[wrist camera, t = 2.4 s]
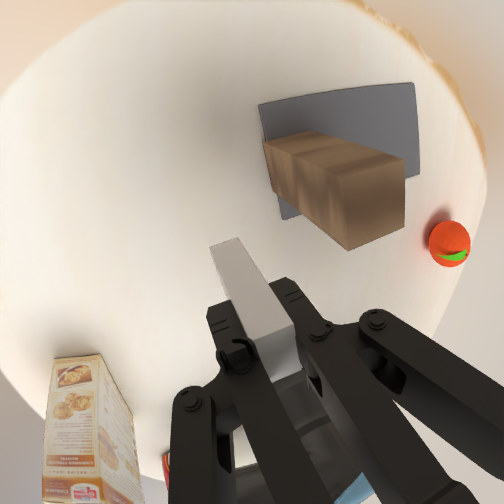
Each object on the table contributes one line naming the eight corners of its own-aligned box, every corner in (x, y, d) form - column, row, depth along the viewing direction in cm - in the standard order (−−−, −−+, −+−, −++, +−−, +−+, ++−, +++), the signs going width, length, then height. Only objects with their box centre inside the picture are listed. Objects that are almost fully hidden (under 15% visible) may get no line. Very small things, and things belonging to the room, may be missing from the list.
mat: (417, 173, 36) (419, 174, 35) (282, 219, 32) (283, 220, 32) (411, 82, 29) (414, 83, 29) (258, 105, 26) (259, 105, 26)
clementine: (411, 260, 43) (443, 284, 37) (418, 219, 39) (454, 241, 33) (443, 248, 45) (473, 268, 39) (450, 209, 41) (483, 228, 35)
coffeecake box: (52, 357, 31) (39, 501, 15) (101, 352, 33) (106, 505, 17) (92, 421, 38) (102, 534, 22) (134, 416, 40) (154, 532, 24)
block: (317, 177, 31) (404, 227, 20) (272, 191, 30) (347, 251, 19) (309, 130, 28) (404, 159, 17) (262, 142, 27) (341, 177, 17)
